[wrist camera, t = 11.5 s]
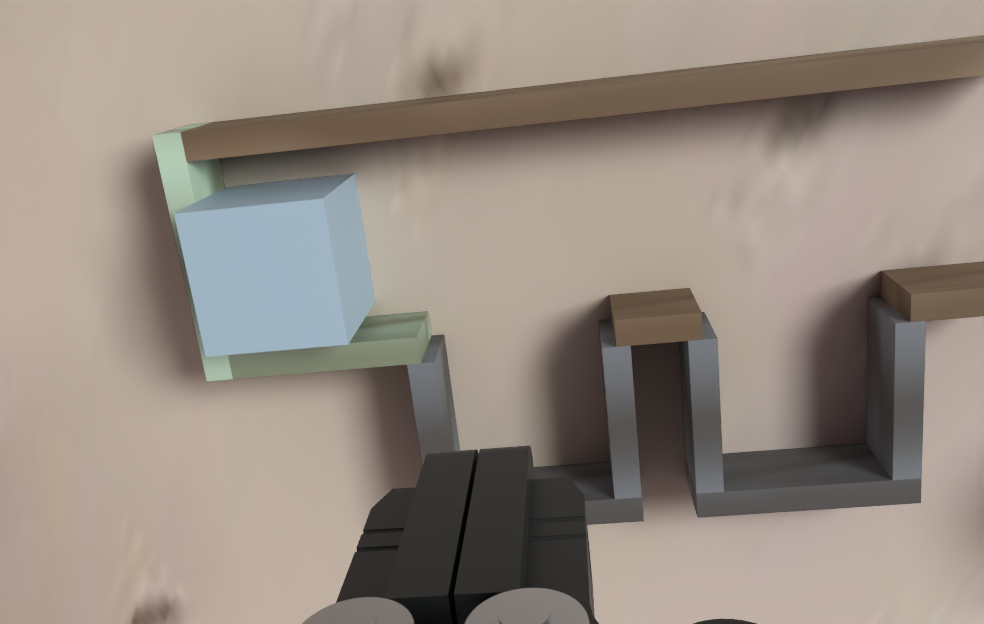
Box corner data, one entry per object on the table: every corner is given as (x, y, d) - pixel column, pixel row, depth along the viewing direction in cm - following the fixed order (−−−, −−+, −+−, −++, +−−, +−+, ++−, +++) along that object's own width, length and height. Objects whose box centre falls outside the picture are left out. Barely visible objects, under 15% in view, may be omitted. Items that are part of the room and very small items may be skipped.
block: (226, 186, 35) (173, 213, 30) (355, 172, 34) (323, 198, 30) (251, 312, 36) (205, 356, 32) (375, 300, 36) (348, 344, 31)
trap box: (185, 125, 34) (151, 135, 31) (1006, 33, 31) (1051, 34, 28) (266, 508, 39) (243, 547, 36) (984, 458, 36) (1021, 496, 33)
